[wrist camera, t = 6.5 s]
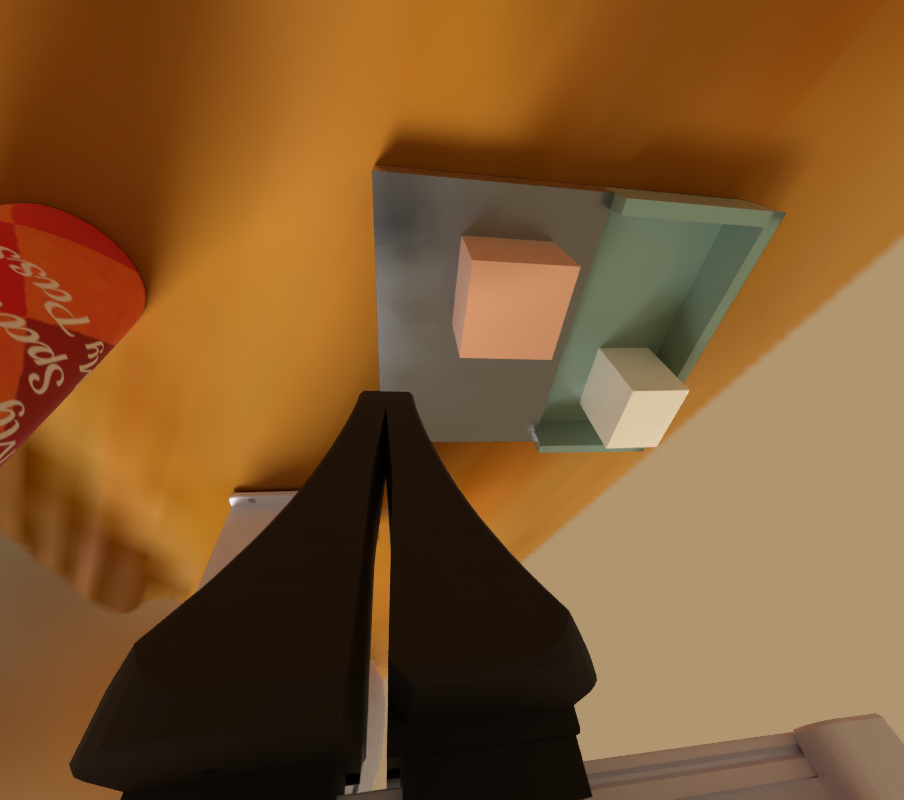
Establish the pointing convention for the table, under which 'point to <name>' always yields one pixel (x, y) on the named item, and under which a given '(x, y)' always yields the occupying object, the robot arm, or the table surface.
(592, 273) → the box
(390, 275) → the plate
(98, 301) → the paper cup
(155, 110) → the table surface
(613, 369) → the tile cream
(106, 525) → the table surface
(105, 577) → the table surface
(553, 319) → the terracotta block
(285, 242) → the table surface
